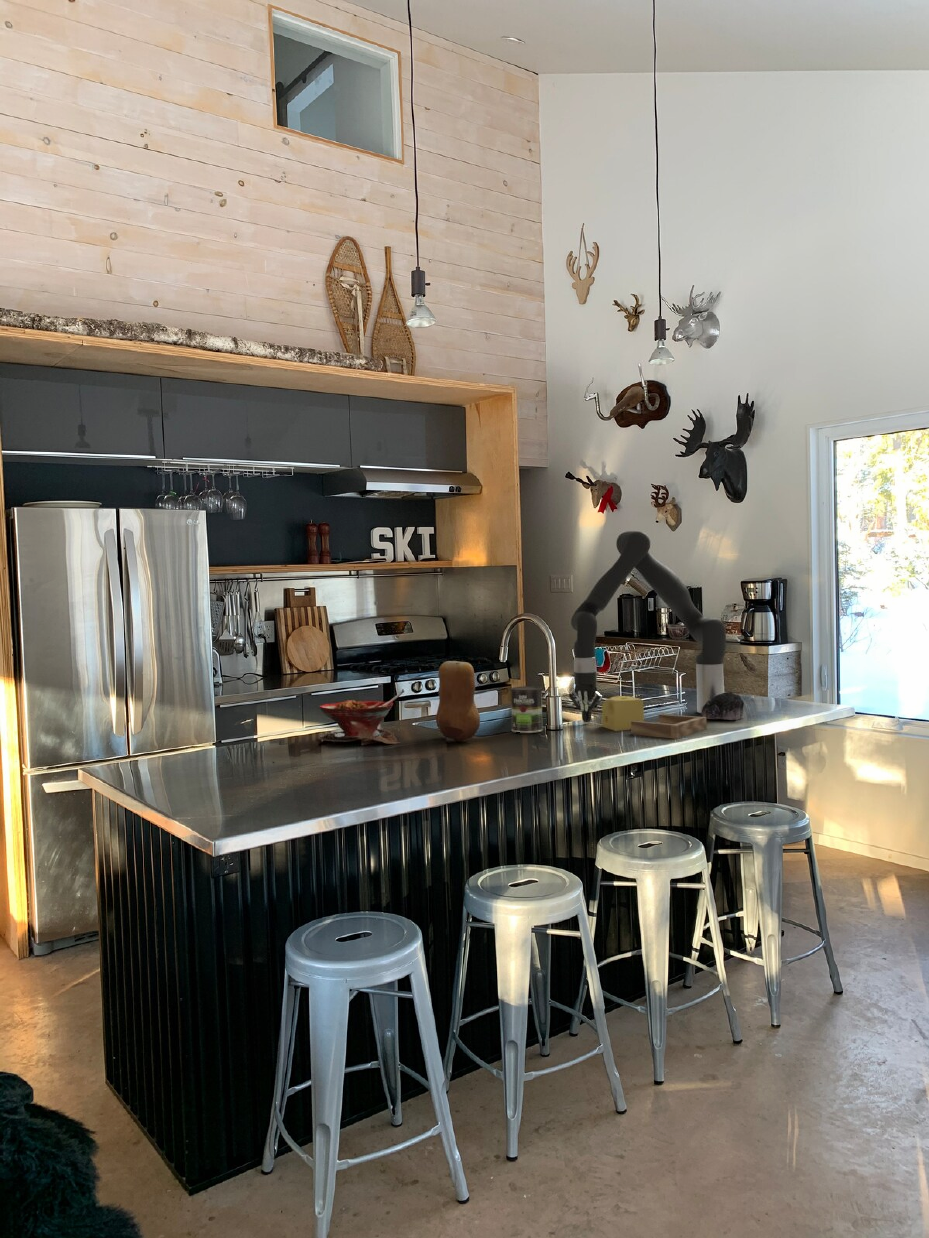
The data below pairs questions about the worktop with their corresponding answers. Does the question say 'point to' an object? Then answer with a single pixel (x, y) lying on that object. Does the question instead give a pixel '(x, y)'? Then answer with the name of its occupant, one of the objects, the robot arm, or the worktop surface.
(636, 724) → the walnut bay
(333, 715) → the stew
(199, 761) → the worktop surface
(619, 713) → the cheese
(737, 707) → the dark brown rock
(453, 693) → the butternut squash
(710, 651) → the robot arm
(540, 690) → the coffee can
